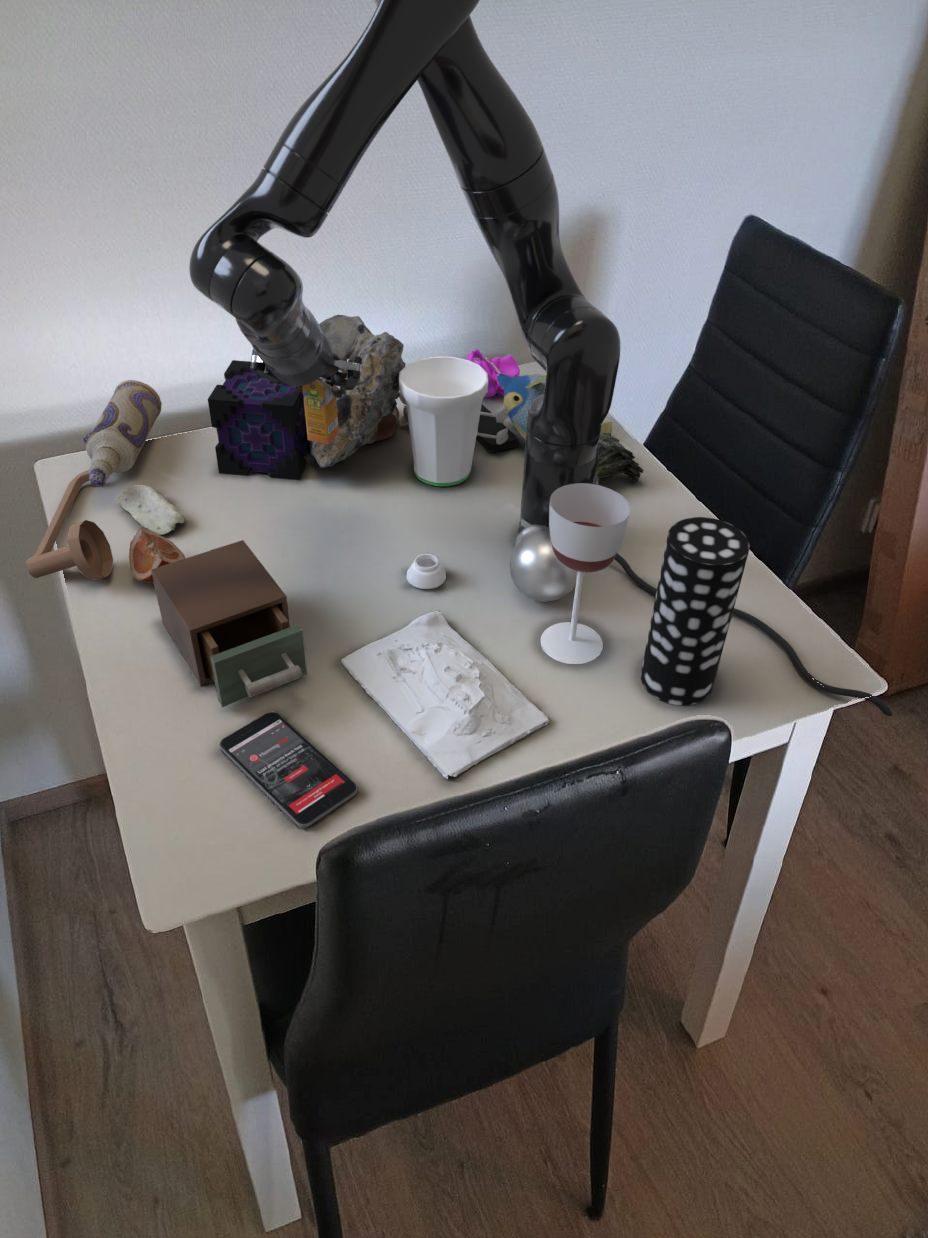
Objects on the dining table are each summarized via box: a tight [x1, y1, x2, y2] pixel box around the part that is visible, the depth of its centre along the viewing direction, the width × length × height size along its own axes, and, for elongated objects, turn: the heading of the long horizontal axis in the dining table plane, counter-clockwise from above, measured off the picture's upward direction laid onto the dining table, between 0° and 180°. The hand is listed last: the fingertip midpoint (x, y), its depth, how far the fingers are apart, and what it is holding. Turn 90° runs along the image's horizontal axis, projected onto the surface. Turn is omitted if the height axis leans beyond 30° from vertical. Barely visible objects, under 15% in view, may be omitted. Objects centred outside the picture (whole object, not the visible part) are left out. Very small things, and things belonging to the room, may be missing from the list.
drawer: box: [197, 605, 308, 708], centre depth 112 cm, size 15×10×7 cm, turn 32°
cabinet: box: [151, 539, 291, 687], centre depth 117 cm, size 12×11×8 cm
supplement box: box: [302, 382, 339, 445], centre depth 128 cm, size 3×3×10 cm
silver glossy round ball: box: [509, 525, 578, 602], centre depth 125 cm, size 9×10×10 cm
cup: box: [399, 355, 488, 487], centre depth 144 cm, size 12×12×15 cm
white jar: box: [406, 553, 447, 590], centre depth 128 cm, size 5×3×5 cm
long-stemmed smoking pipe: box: [25, 469, 114, 581], centre depth 133 cm, size 25×9×8 cm, turn 3°
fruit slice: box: [128, 526, 186, 584], centre depth 127 cm, size 8×7×5 cm
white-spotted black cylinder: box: [640, 516, 751, 706], centre depth 110 cm, size 8×8×20 cm
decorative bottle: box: [83, 379, 163, 487], centre depth 146 cm, size 26×8×7 cm, turn 1°
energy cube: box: [207, 359, 311, 481], centre depth 147 cm, size 12×12×12 cm
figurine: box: [398, 391, 509, 444], centre depth 154 cm, size 7×6×18 cm
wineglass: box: [539, 483, 631, 665], centre depth 114 cm, size 8×9×20 cm
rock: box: [310, 314, 407, 468], centre depth 144 cm, size 25×21×15 cm
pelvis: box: [465, 349, 521, 398], centre depth 165 cm, size 12×10×7 cm
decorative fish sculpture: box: [497, 373, 613, 441], centre depth 154 cm, size 12×20×15 cm
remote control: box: [476, 403, 518, 453], centre depth 158 cm, size 5×2×15 cm
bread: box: [374, 406, 400, 442], centre depth 156 cm, size 11×11×5 cm
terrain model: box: [340, 610, 550, 780], centre depth 113 cm, size 17×23×5 cm
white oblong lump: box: [117, 484, 187, 536], centre depth 138 cm, size 12×5×4 cm
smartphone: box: [219, 710, 358, 829], centre depth 104 cm, size 7×1×15 cm
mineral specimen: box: [595, 433, 644, 483], centre depth 147 cm, size 15×13×10 cm
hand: (323, 388), depth 129 cm, fingers closed on supplement box, 3 cm apart
